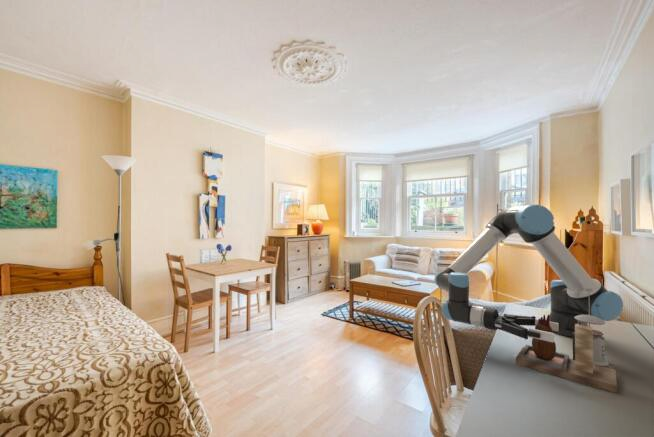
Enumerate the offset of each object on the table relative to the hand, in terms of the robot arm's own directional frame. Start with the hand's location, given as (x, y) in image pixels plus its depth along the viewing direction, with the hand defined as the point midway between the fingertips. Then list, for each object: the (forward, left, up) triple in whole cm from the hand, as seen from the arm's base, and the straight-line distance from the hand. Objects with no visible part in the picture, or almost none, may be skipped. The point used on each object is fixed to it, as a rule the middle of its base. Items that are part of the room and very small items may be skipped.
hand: (556, 332), depth 94 cm
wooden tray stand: (-1, +1, -12) cm, 12 cm away
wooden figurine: (+2, -3, -10) cm, 10 cm away
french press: (-19, -4, -12) cm, 23 cm away
